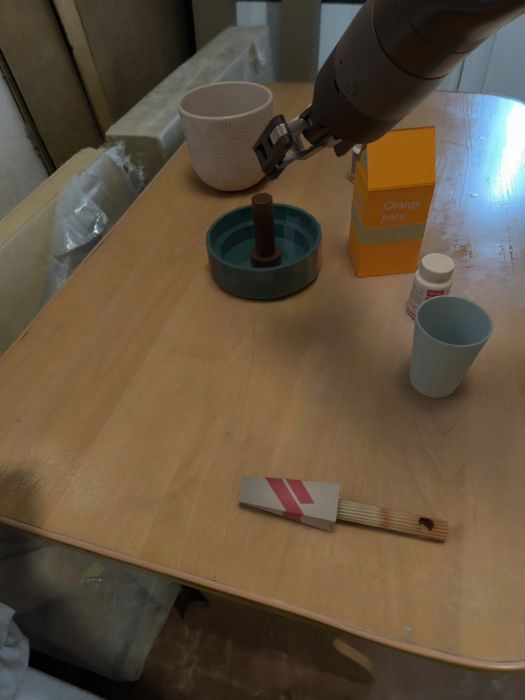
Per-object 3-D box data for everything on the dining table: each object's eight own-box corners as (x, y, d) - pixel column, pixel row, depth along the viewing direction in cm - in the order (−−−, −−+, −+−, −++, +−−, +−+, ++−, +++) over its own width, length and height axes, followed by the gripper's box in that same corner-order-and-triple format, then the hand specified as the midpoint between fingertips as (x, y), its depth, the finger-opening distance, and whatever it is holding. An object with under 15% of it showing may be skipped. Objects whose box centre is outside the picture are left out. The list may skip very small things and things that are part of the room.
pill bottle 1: (376, 185, 86) (382, 140, 80) (351, 186, 86) (355, 142, 80) (373, 172, 89) (378, 129, 83) (348, 174, 89) (352, 130, 83)
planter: (266, 154, 97) (261, 75, 86) (285, 193, 86) (283, 108, 75) (188, 167, 96) (172, 88, 84) (197, 209, 84) (181, 124, 73)
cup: (390, 361, 58) (404, 300, 50) (448, 351, 58) (471, 289, 50) (413, 410, 53) (433, 351, 45) (477, 399, 53) (507, 339, 45)
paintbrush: (244, 463, 46) (449, 506, 43) (245, 475, 48) (441, 517, 45) (233, 499, 44) (450, 548, 40) (235, 510, 46) (442, 557, 42)
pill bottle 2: (420, 327, 61) (434, 279, 55) (399, 306, 64) (410, 257, 58) (449, 316, 62) (466, 266, 56) (427, 295, 65) (441, 246, 59)
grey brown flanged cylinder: (281, 251, 73) (278, 188, 65) (282, 270, 70) (279, 206, 62) (251, 253, 73) (245, 190, 65) (251, 272, 70) (244, 208, 62)
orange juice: (415, 272, 69) (446, 139, 54) (357, 278, 69) (372, 146, 54) (401, 242, 74) (426, 112, 59) (347, 247, 74) (358, 119, 59)
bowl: (315, 231, 77) (316, 199, 73) (325, 299, 66) (326, 266, 61) (215, 237, 78) (210, 206, 74) (207, 305, 67) (201, 273, 62)
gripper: (439, -1, 35) (344, 109, 51) (280, 39, 31) (230, 144, 47) (472, 93, 36) (369, 173, 51) (320, 143, 32) (258, 213, 48)
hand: (303, 159), depth 49 cm, fingers open, 8 cm apart
